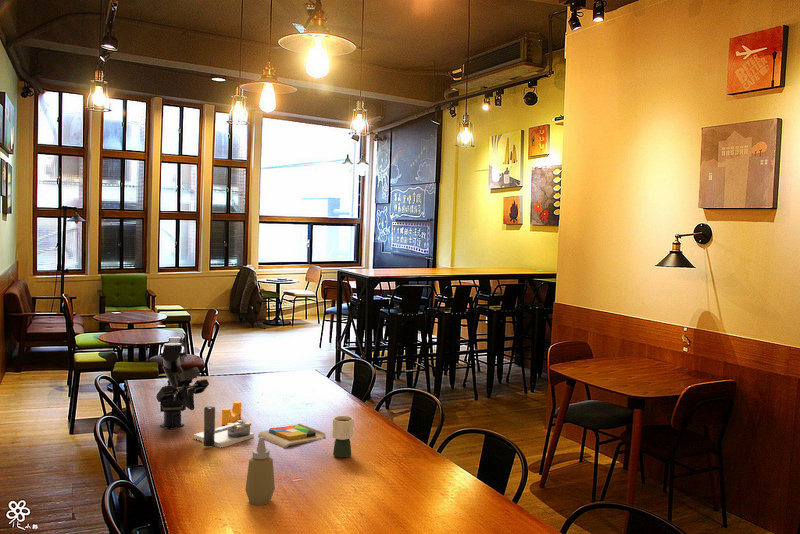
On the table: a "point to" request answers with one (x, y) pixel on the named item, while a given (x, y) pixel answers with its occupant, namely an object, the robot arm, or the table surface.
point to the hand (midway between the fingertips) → (192, 409)
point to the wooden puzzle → (291, 435)
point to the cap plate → (223, 438)
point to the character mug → (342, 435)
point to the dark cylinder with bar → (232, 428)
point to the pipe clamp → (231, 413)
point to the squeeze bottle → (260, 476)
